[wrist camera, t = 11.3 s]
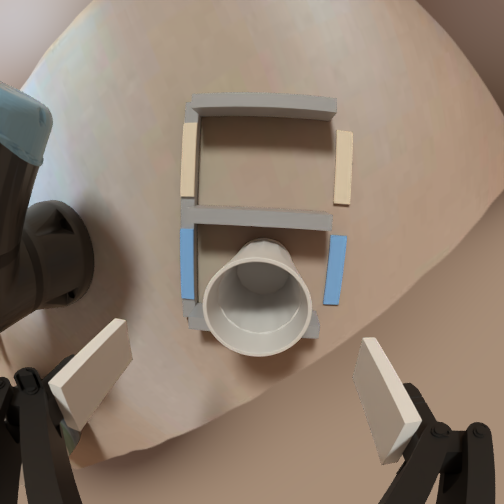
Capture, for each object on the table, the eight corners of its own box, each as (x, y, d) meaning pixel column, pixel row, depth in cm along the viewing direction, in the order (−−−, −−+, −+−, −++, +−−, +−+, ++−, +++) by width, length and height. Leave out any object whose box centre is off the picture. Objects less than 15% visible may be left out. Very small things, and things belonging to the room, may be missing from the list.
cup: (308, 287, 32) (323, 341, 21) (241, 306, 34) (225, 365, 22) (287, 220, 31) (294, 242, 19) (218, 243, 32) (186, 276, 20)
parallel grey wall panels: (186, 312, 34) (175, 327, 31) (189, 105, 29) (177, 95, 25) (334, 322, 33) (341, 338, 29) (352, 111, 28) (362, 101, 24)
